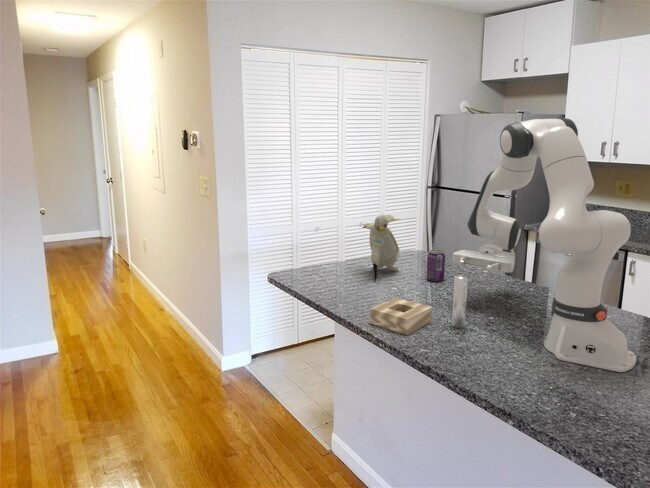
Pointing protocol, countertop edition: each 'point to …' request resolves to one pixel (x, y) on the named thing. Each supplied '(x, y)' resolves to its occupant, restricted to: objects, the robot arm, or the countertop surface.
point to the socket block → (400, 315)
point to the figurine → (382, 244)
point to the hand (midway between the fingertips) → (474, 266)
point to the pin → (459, 301)
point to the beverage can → (435, 265)
